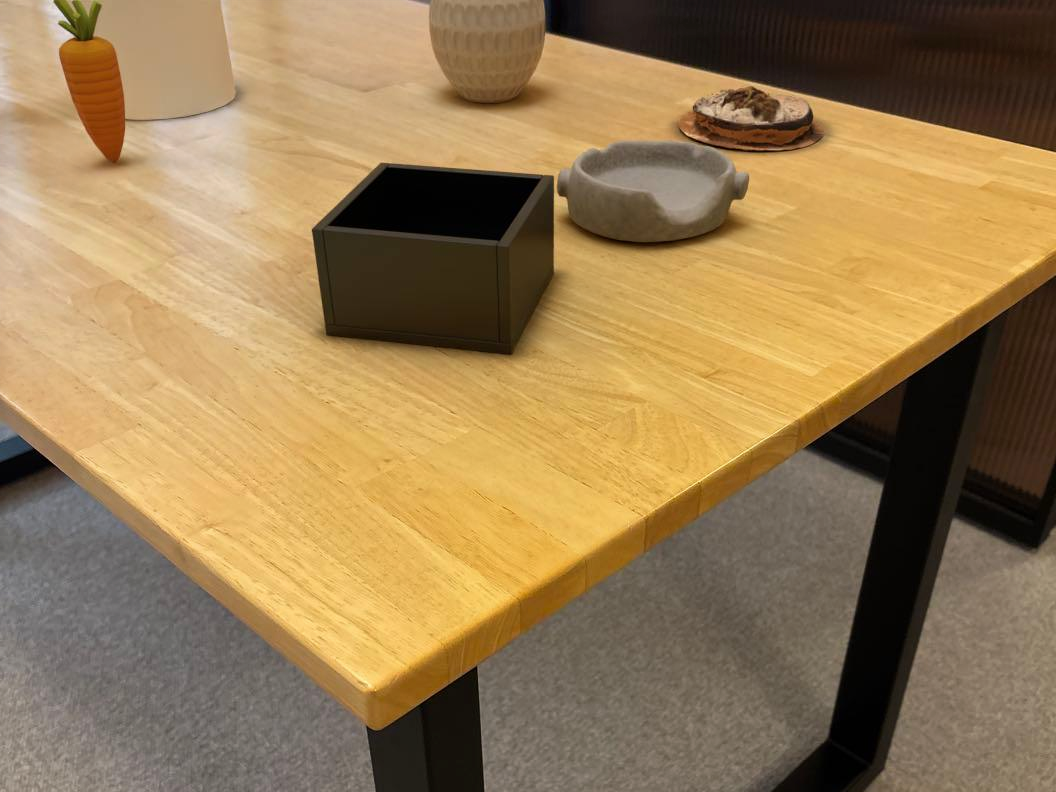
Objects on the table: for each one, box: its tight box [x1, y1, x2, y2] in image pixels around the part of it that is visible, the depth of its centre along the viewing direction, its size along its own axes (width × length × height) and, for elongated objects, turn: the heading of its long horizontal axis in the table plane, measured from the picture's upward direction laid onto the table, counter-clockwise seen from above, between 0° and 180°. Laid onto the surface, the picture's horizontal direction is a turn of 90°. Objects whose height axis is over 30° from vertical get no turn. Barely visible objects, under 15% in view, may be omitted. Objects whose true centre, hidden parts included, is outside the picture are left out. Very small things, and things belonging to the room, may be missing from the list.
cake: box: [678, 85, 825, 152], centre depth 112 cm, size 15×15×4 cm
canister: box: [66, 0, 237, 121], centre depth 117 cm, size 16×16×20 cm
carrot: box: [53, 0, 126, 164], centre depth 101 cm, size 5×5×15 cm
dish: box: [556, 140, 750, 243], centre depth 93 cm, size 14×14×5 cm
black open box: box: [311, 162, 555, 355], centre depth 78 cm, size 14×14×8 cm
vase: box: [428, 0, 547, 104], centre depth 119 cm, size 13×13×17 cm
